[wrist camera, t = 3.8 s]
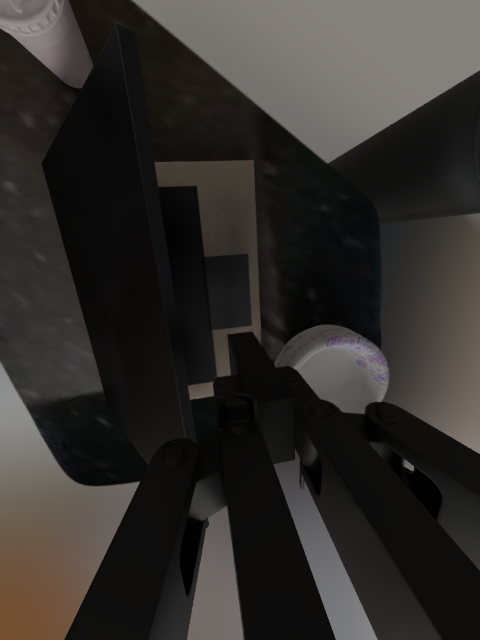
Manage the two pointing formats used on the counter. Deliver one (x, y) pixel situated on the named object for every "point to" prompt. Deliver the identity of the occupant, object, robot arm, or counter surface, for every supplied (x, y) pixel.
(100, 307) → the laptop screen
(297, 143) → the counter surface
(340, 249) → the counter surface
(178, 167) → the laptop
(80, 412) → the counter surface
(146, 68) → the counter surface
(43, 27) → the smoothie
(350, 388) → the paper bowls
